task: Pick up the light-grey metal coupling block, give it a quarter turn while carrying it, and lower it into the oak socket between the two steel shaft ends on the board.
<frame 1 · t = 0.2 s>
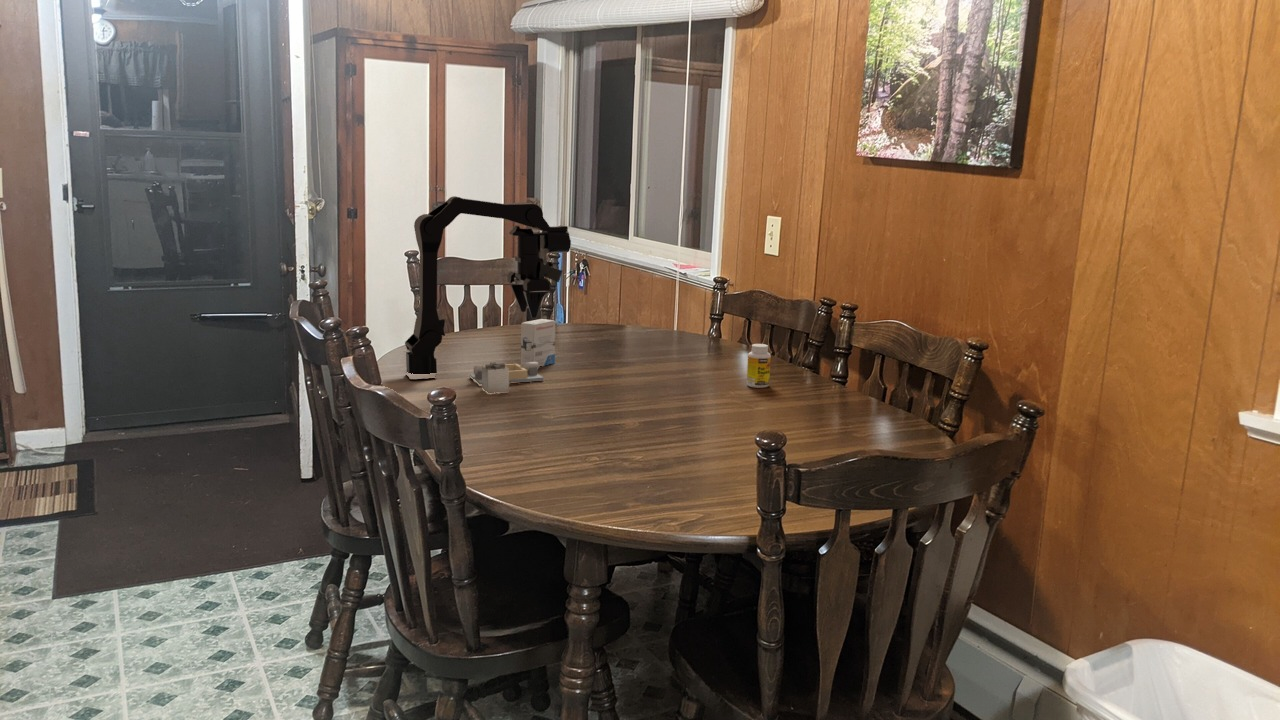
hand: (528, 314, 254), 14 cm above the table, fingers open, 9 cm apart
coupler: (495, 391, 234), on the table
shaft bench: (506, 379, 246), on the table
supplement bottle: (757, 386, 246), on the table
ink box: (538, 365, 263), on the table
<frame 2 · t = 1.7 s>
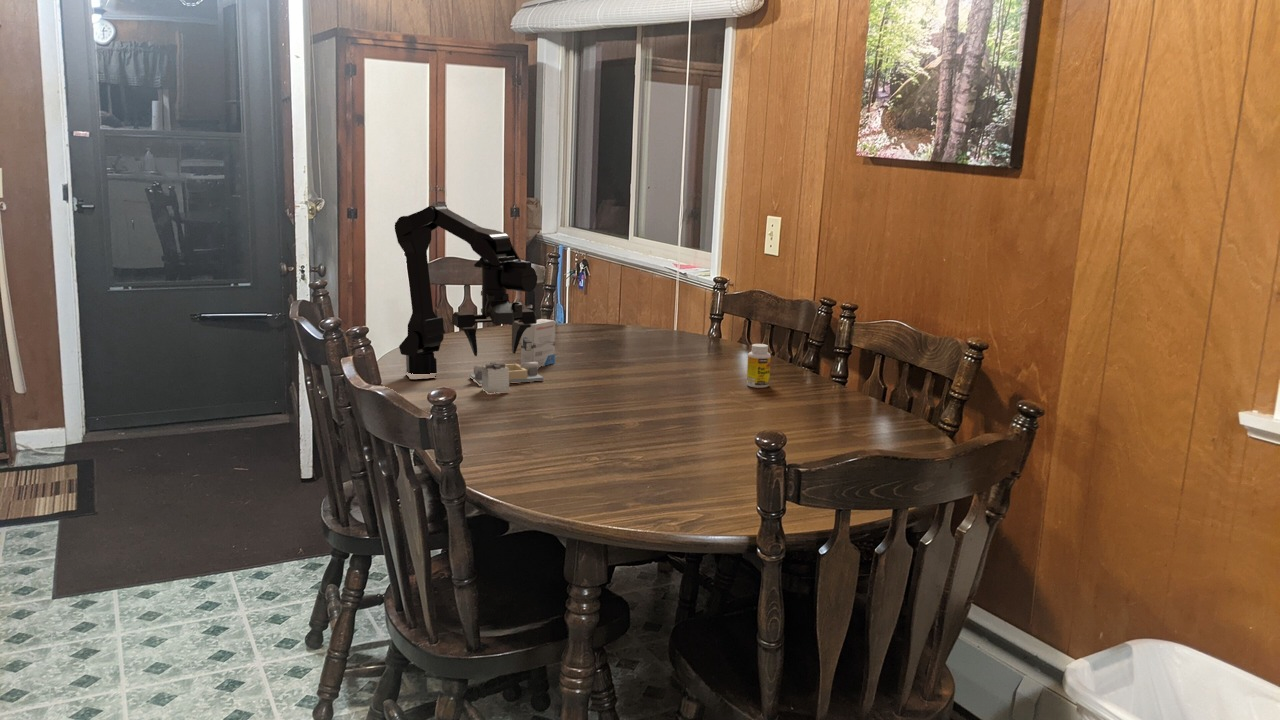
hand: (494, 354, 232), 9 cm above the table, fingers open, 9 cm apart
nothing on the table moved.
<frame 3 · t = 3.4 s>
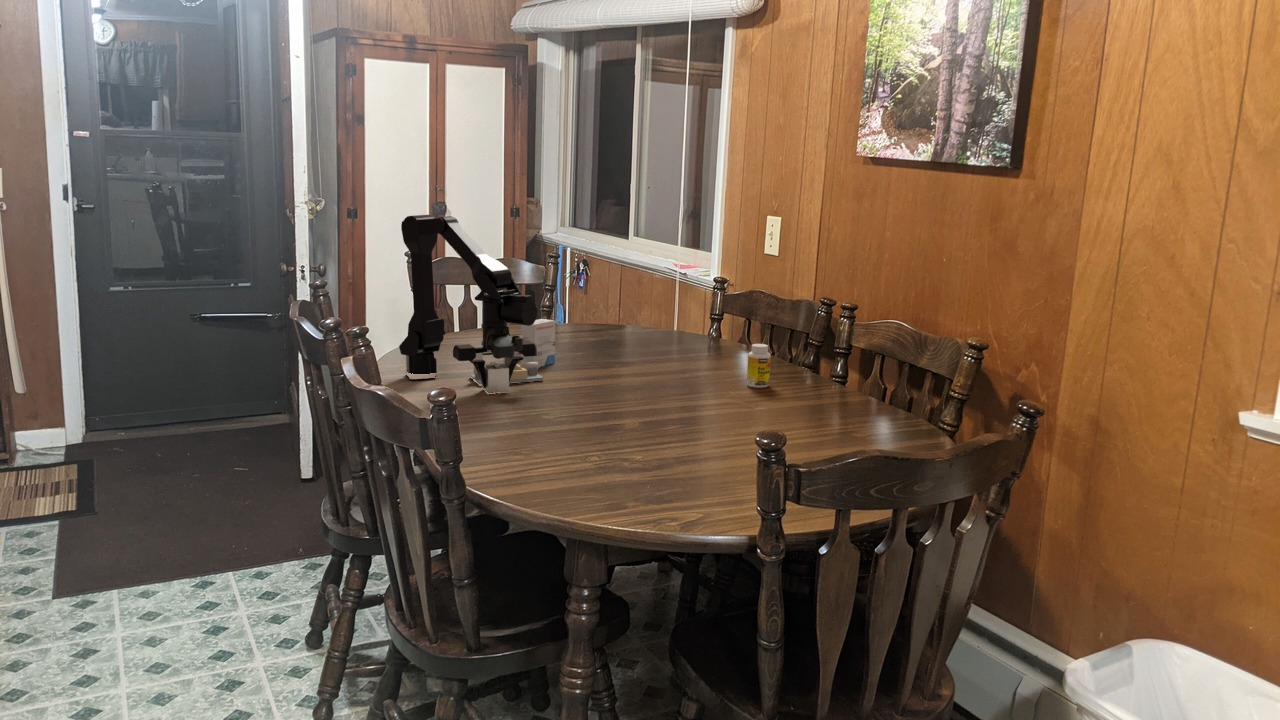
hand: (495, 386, 234), 1 cm above the table, fingers closed on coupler, 5 cm apart
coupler: (495, 391, 234), on the table, touching gripper
everything else where it was.
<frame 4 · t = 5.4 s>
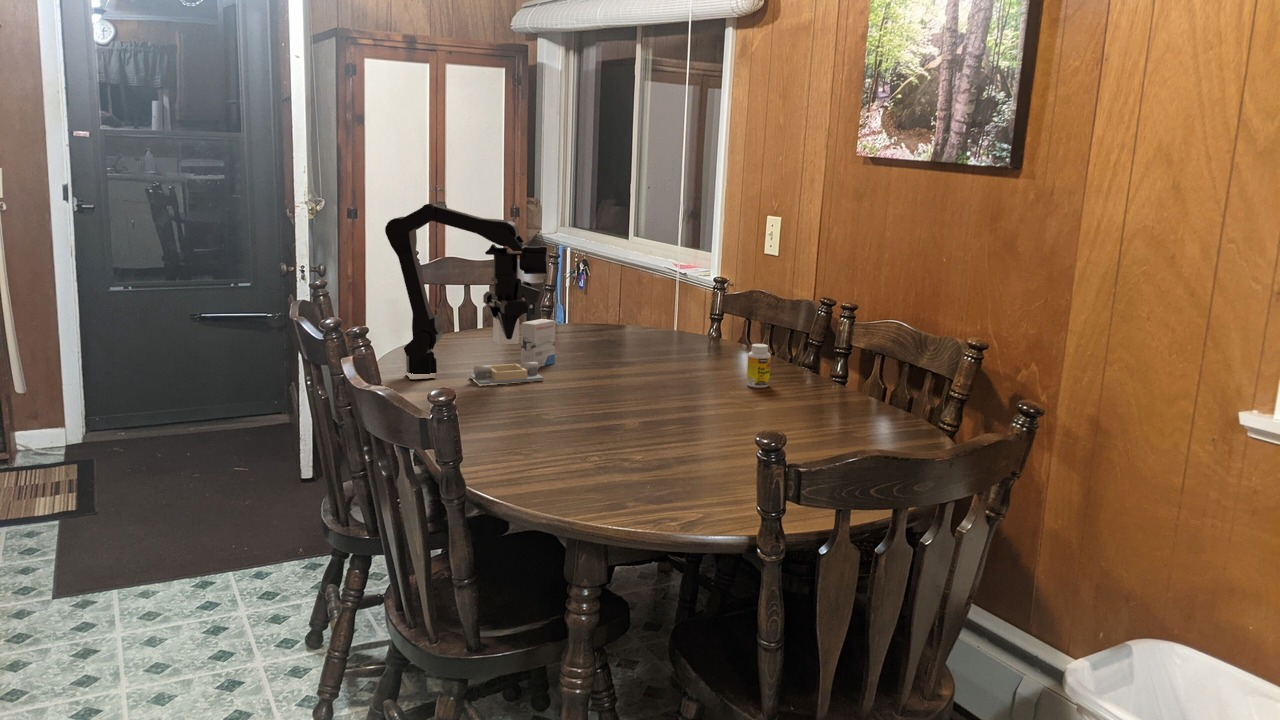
hand: (505, 337, 244), 11 cm above the table, fingers closed on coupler, 5 cm apart
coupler: (506, 342, 244), point 9 cm above the table, touching gripper
everything else where it was.
when the fingers open (3 cm above the table, at t = 7.4 s): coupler drops 1 cm, resting on shaft bench.
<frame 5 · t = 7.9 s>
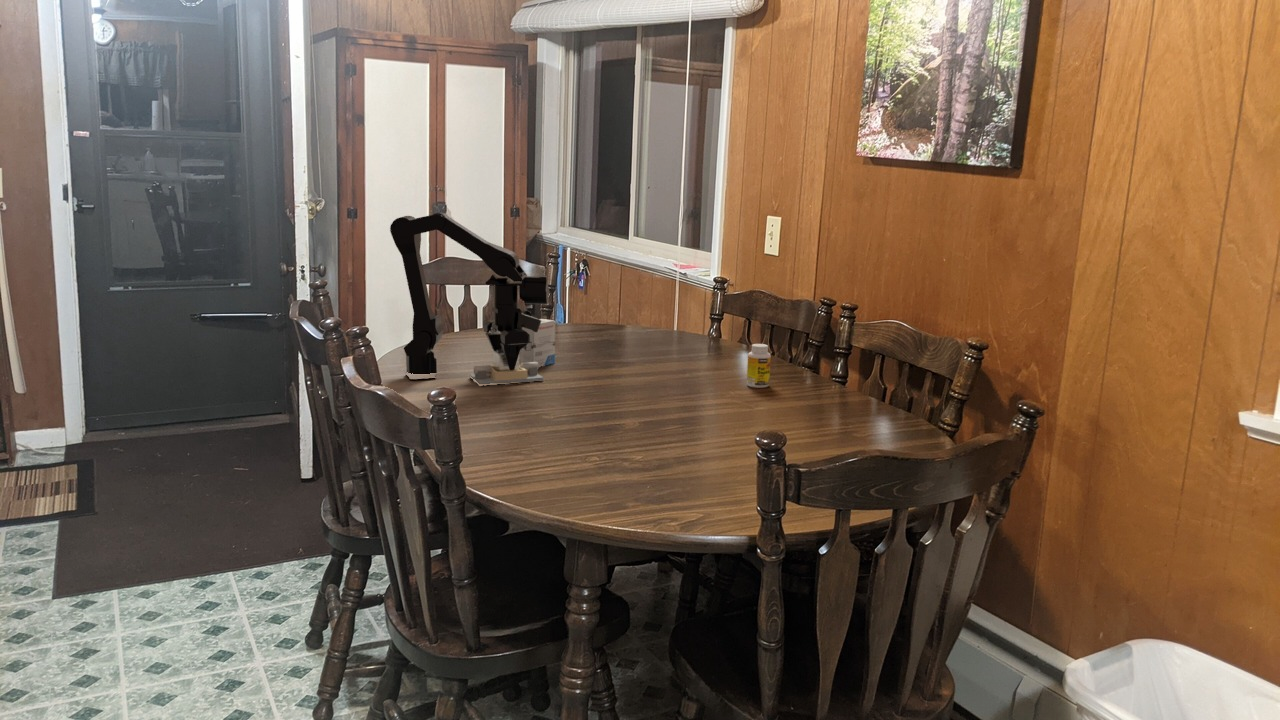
hand: (506, 366, 245), 3 cm above the table, fingers open, 9 cm apart
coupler: (506, 375, 246), point 1 cm above the table, touching shaft bench
everything else where it was.
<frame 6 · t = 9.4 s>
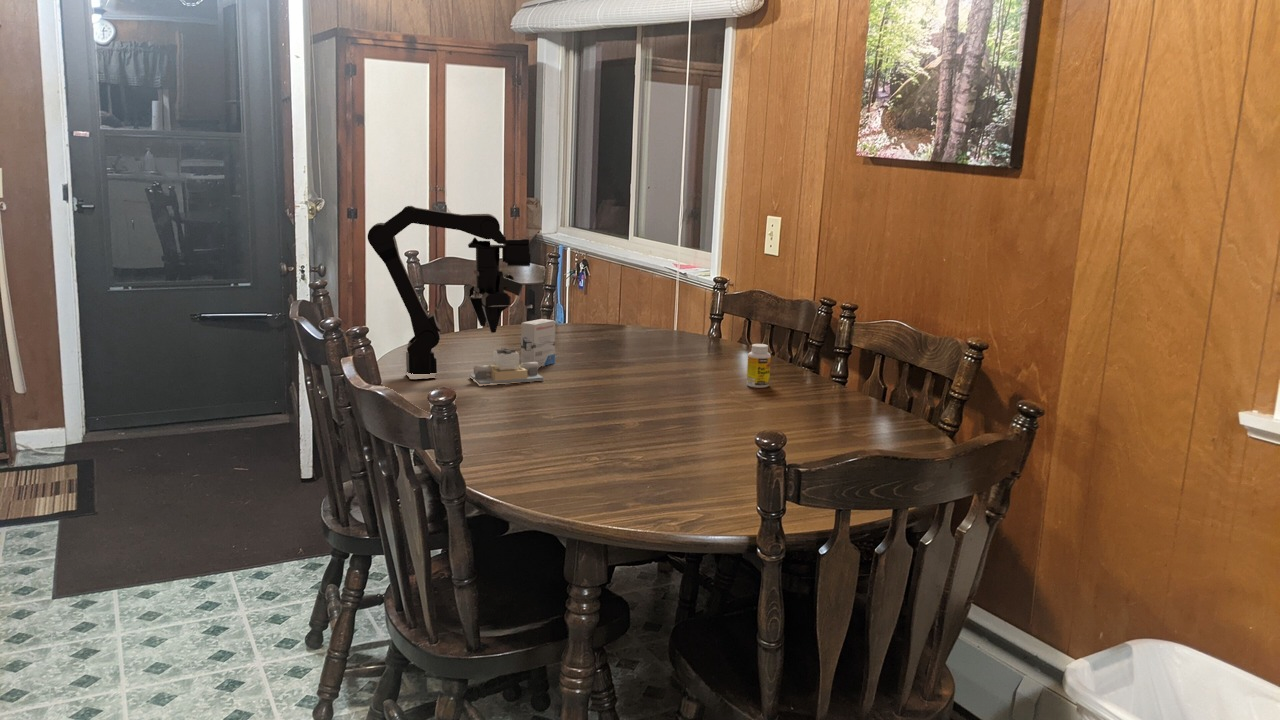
hand: (488, 329, 247), 12 cm above the table, fingers open, 9 cm apart
nothing on the table moved.
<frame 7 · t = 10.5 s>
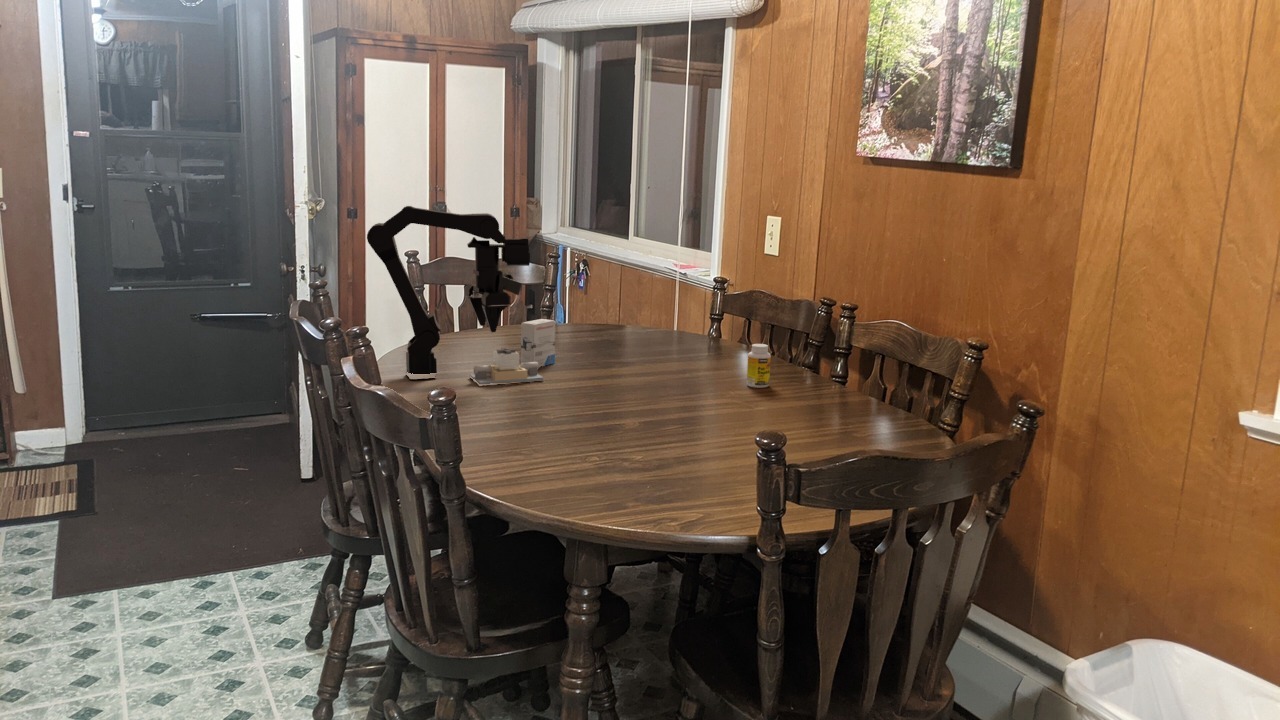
hand: (487, 328, 247), 12 cm above the table, fingers open, 9 cm apart
nothing on the table moved.
at the end: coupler 0.1 cm off-centre on the shaft bench, point 1.0 cm above the shaft bench's base; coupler tilted 0°; the gripper is holding nothing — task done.
